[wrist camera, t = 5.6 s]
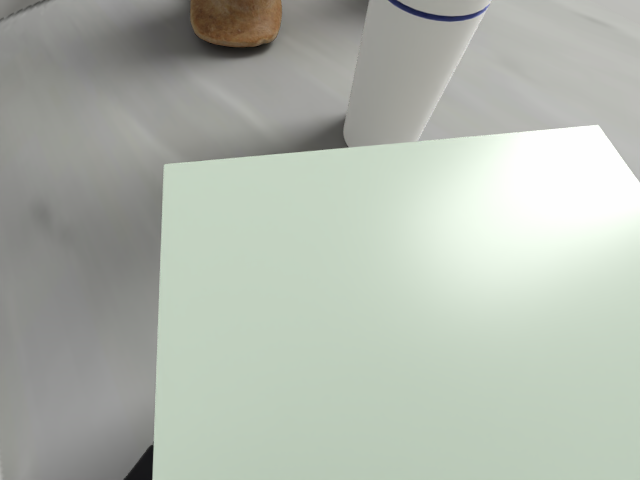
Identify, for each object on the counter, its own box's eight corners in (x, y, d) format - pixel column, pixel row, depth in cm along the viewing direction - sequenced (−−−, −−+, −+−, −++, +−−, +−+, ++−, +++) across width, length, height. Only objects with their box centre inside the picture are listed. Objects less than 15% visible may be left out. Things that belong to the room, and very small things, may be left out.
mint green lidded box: (396, 430, 14) (1077, 797, 2) (281, 457, 13) (119, 1377, 1) (369, 315, 16) (597, 125, 4) (268, 332, 15) (163, 164, 3)
